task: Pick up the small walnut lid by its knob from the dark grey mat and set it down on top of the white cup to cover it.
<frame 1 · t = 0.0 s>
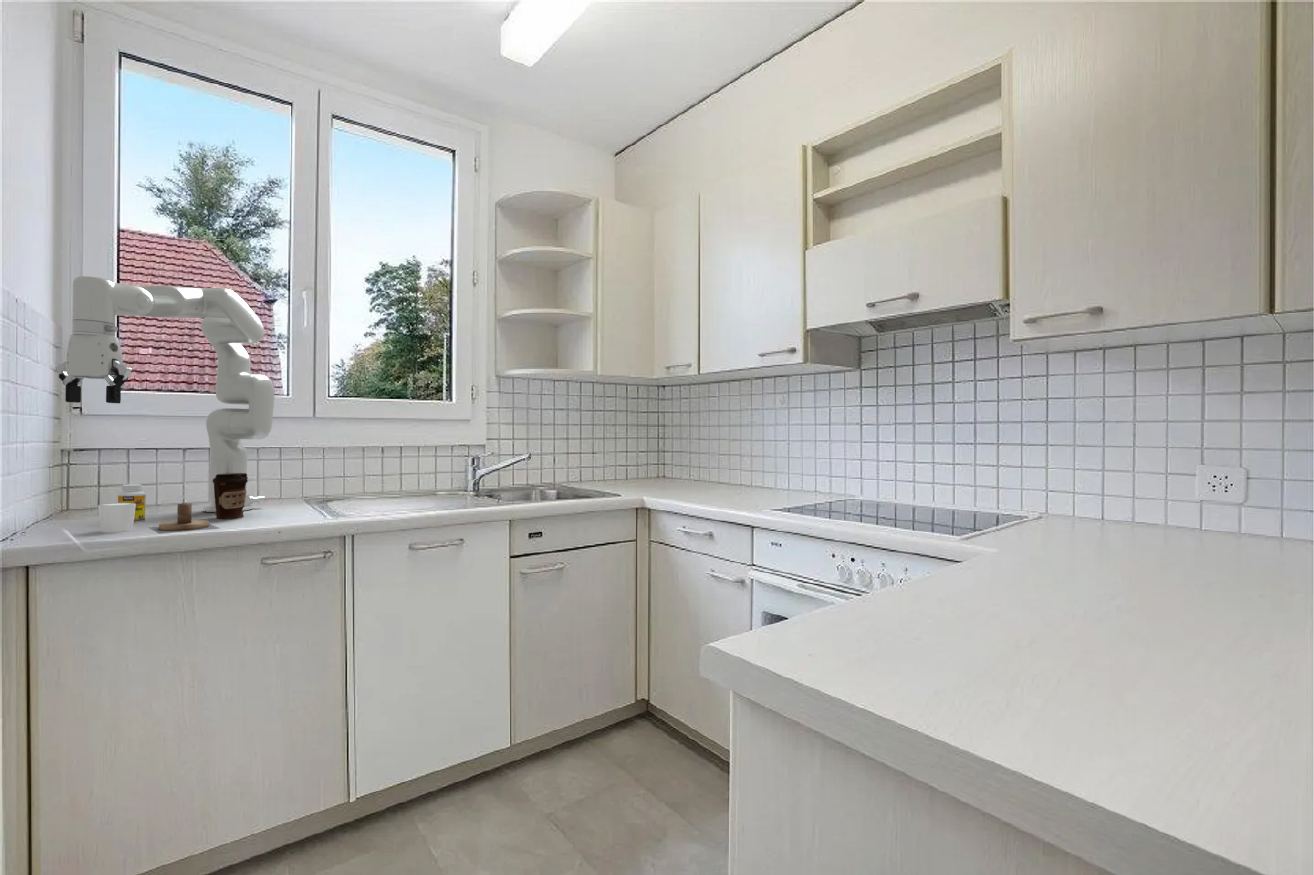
hand: (93, 402, 145), 31 cm above the counter, tool pointing down, fingers open, 9 cm apart
supplement bottle: (131, 523, 163), on the counter
white cup: (116, 533, 148), on the counter
mat: (184, 530, 153), on the counter
coffee cup: (230, 520, 172), on the counter
lid: (184, 527, 153), point 1 cm above the counter, touching mat
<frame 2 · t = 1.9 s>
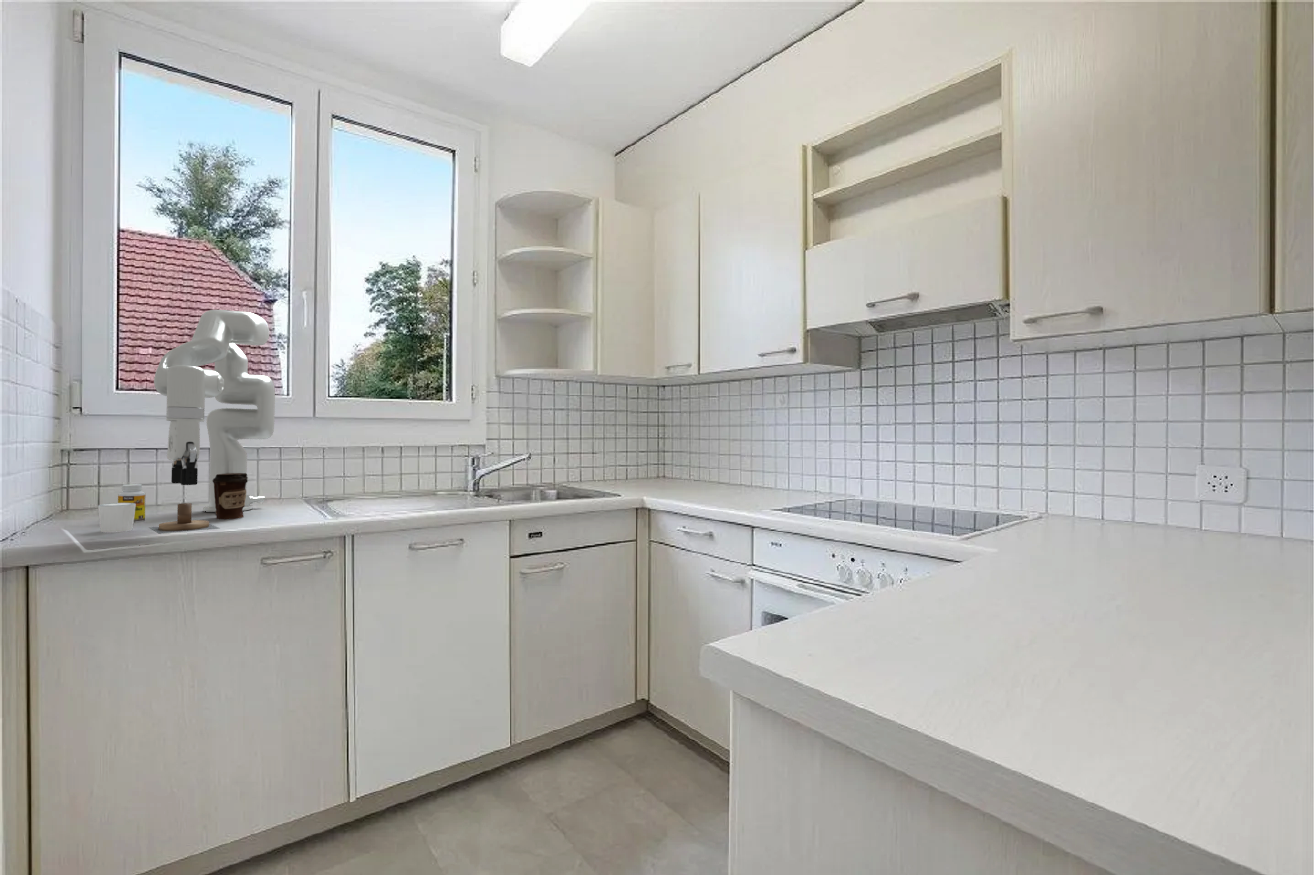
hand: (184, 483, 153), 12 cm above the counter, tool pointing down, fingers open, 9 cm apart
nothing on the counter moved.
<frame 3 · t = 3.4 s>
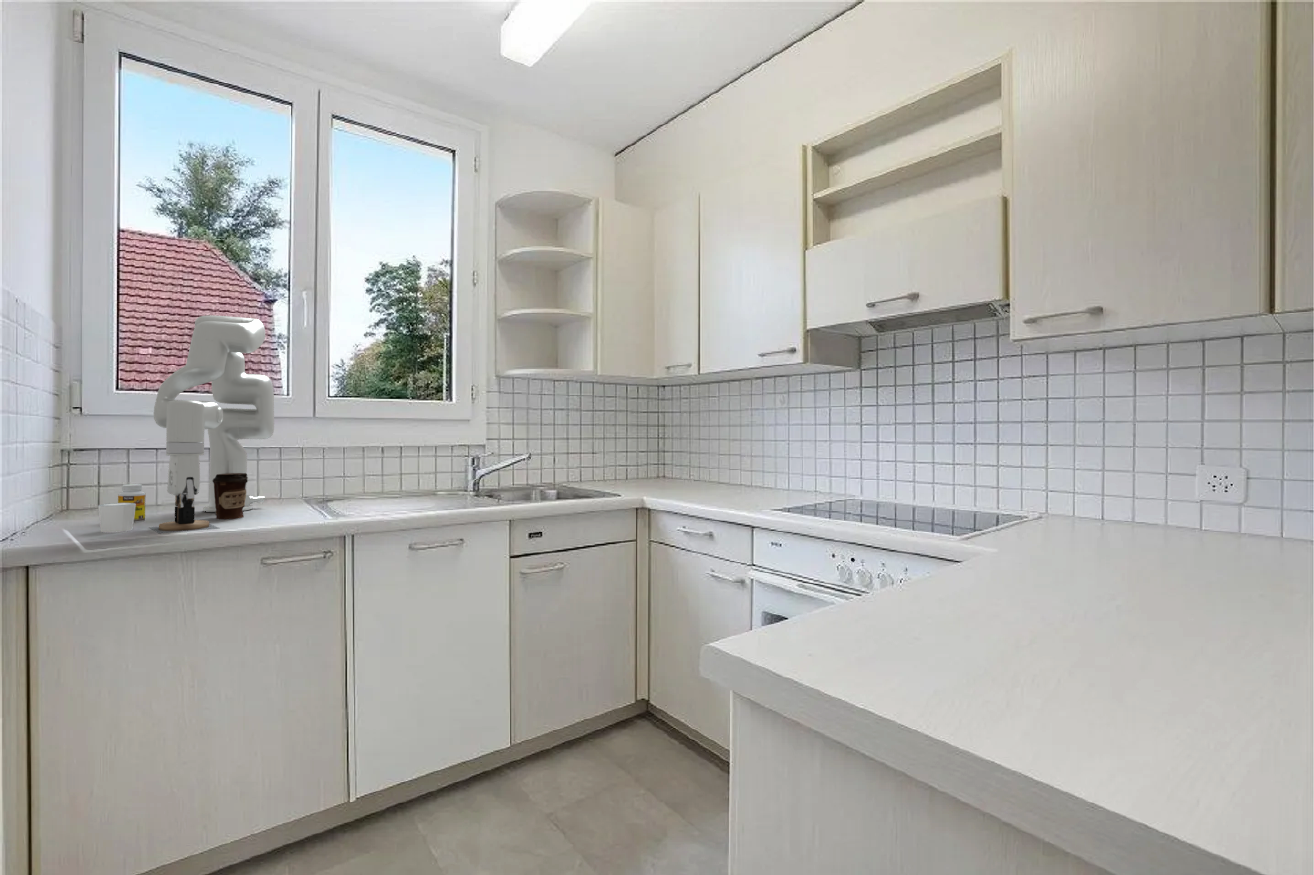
hand: (184, 522, 153), 2 cm above the counter, tool pointing down, fingers closed on lid, 2 cm apart
lid: (184, 527, 153), point 1 cm above the counter, touching gripper, mat
everything else where it was.
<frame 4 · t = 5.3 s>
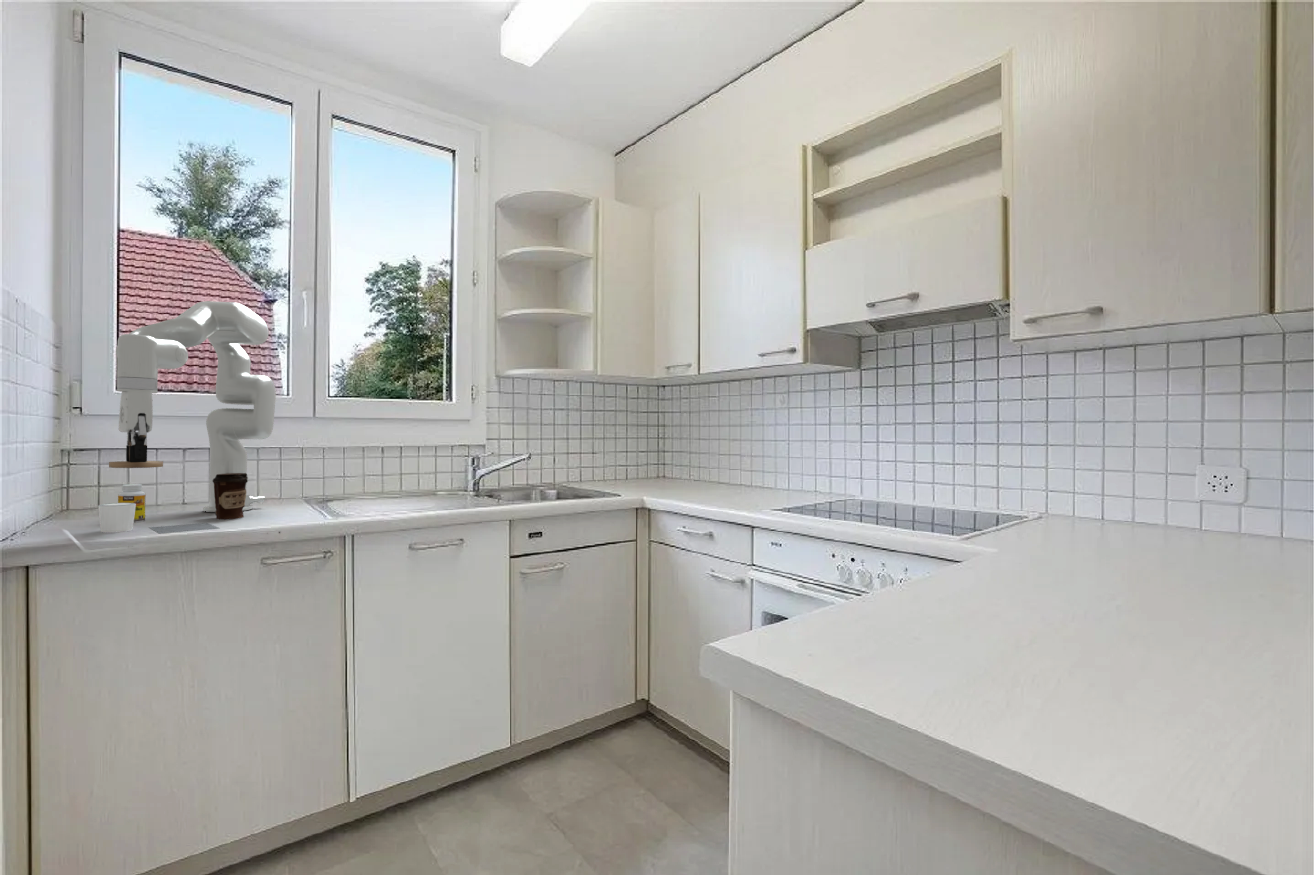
hand: (136, 461, 149), 17 cm above the counter, tool pointing down, fingers closed on lid, 2 cm apart
lid: (136, 466, 149), point 16 cm above the counter, touching gripper
everything else where it was.
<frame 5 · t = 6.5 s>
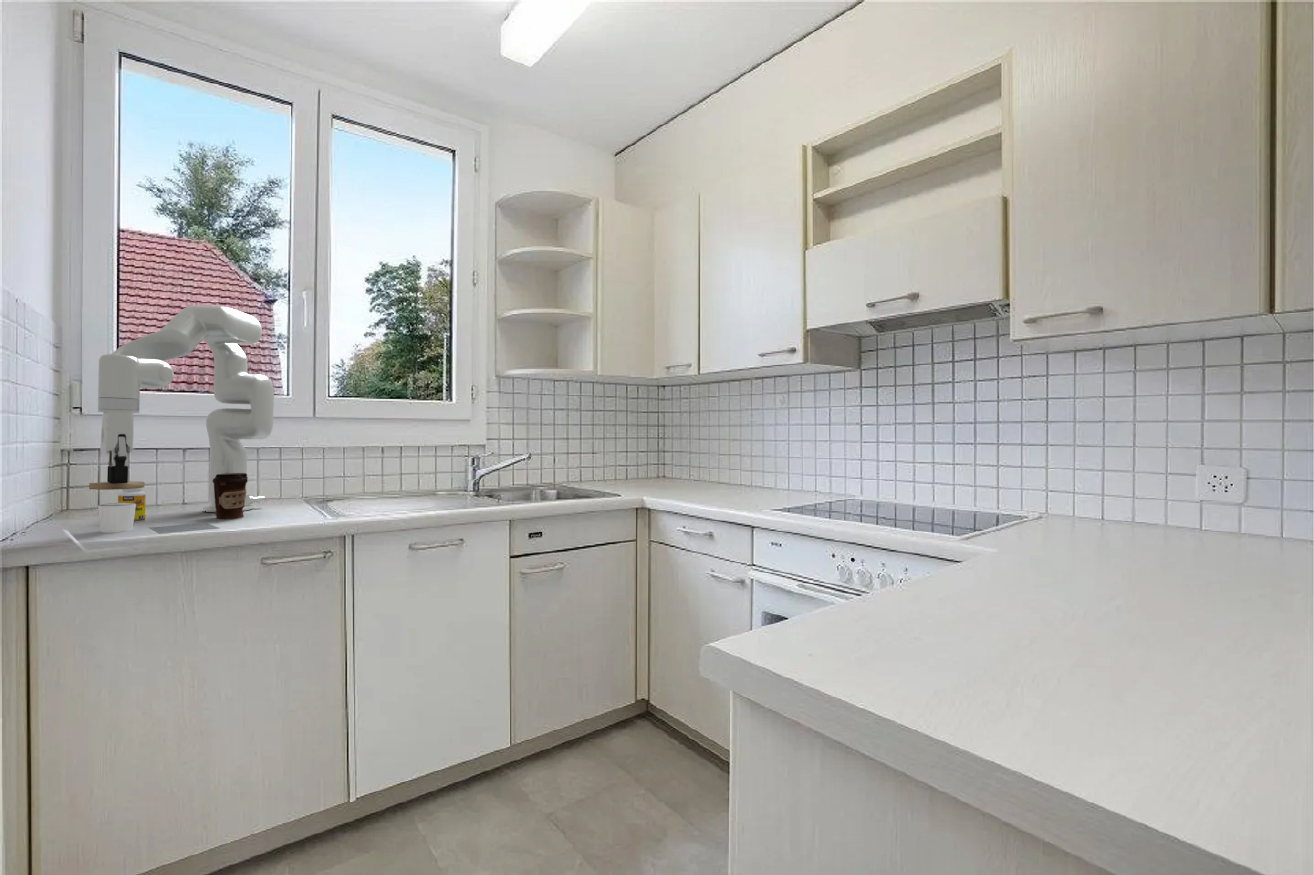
hand: (117, 482, 147), 12 cm above the counter, tool pointing down, fingers closed on lid, 2 cm apart
lid: (117, 487, 147), point 11 cm above the counter, touching gripper
everything else where it was.
when the fingers open (10 cm above the counter, at t = 7.2 s): lid drops 1 cm, resting on white cup.
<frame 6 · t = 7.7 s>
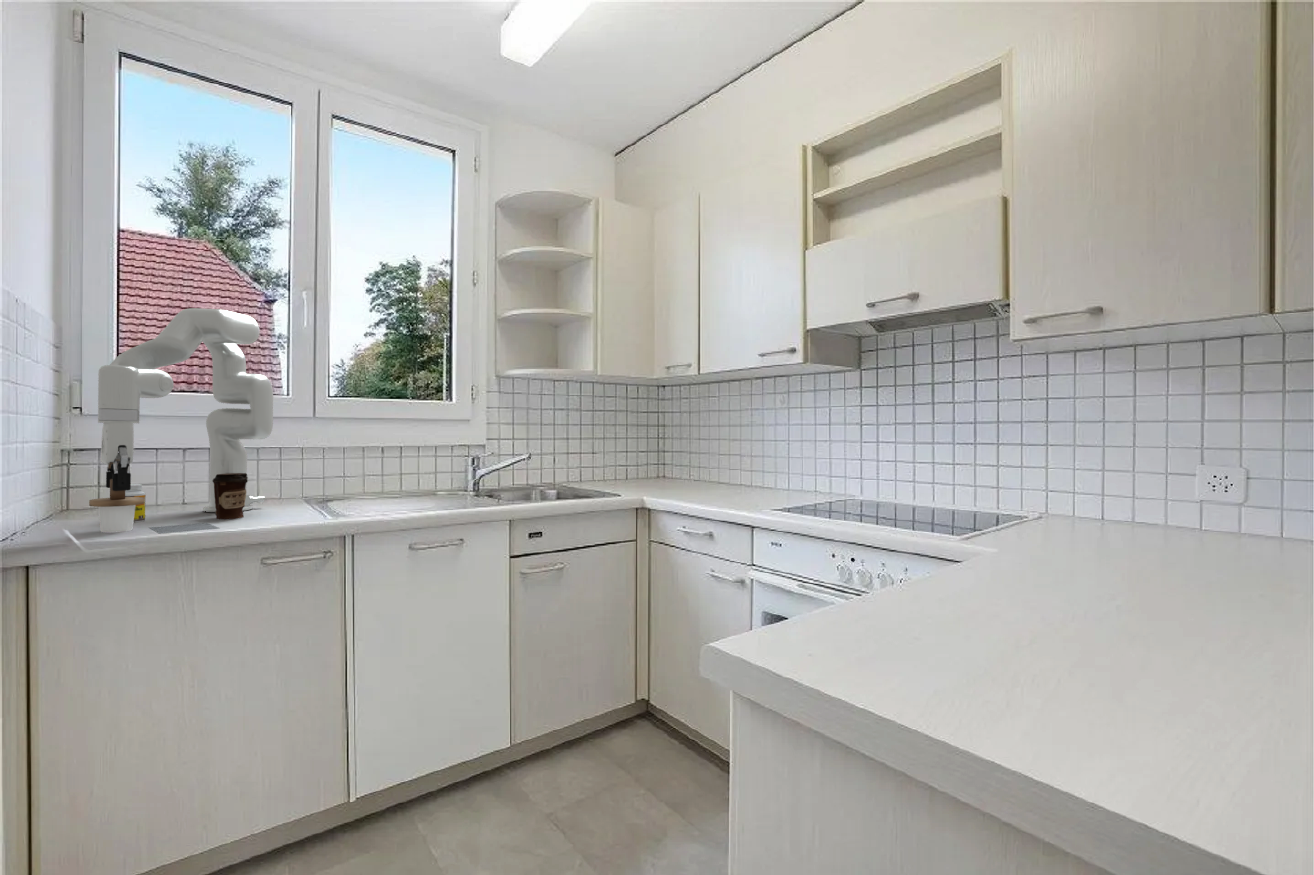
hand: (118, 488, 148), 11 cm above the counter, tool pointing down, fingers open, 8 cm apart
white cup: (116, 533, 148), on the counter, touching lid
lid: (117, 504, 148), point 7 cm above the counter, touching white cup
everything else where it was.
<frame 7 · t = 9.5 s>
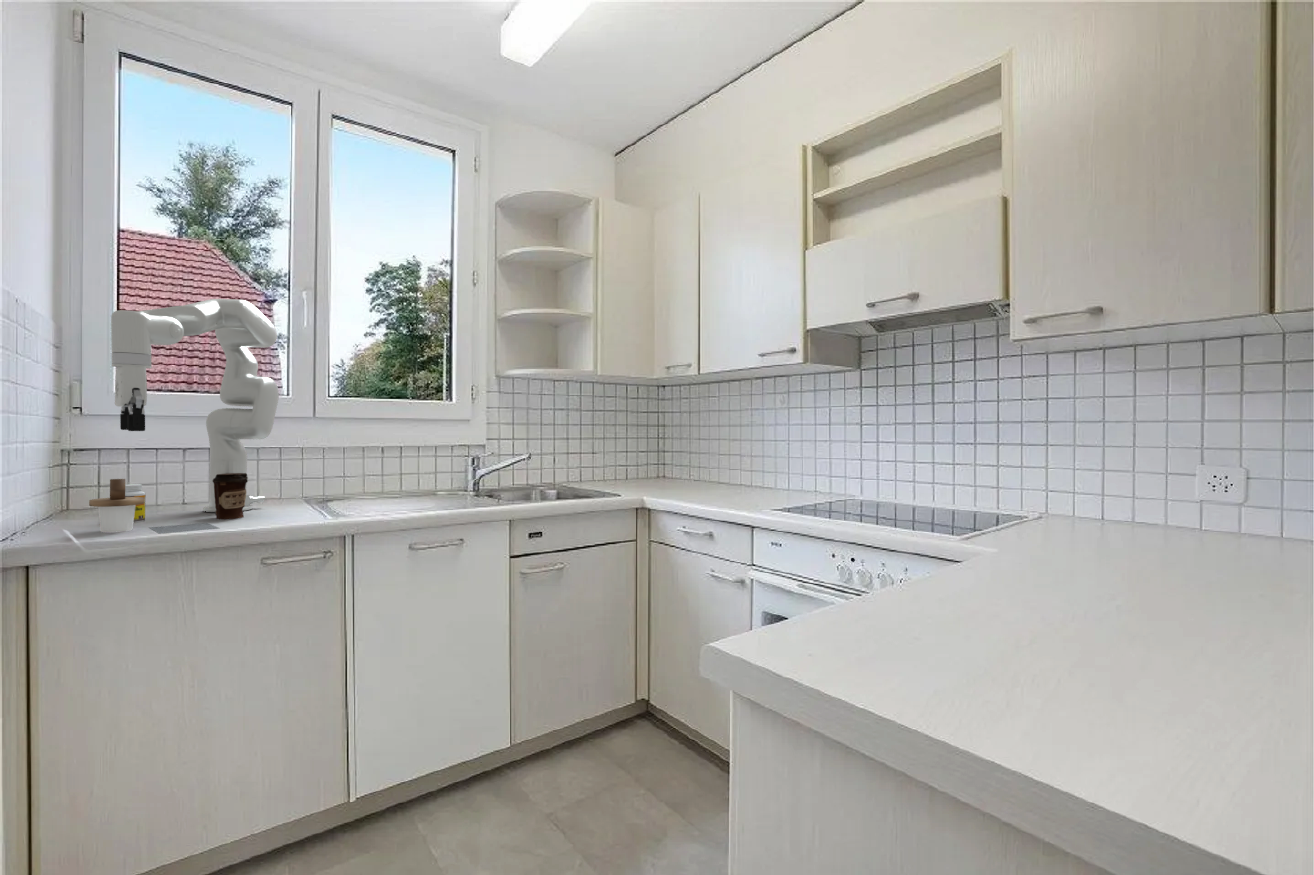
hand: (132, 430, 153), 25 cm above the counter, tool pointing down, fingers open, 9 cm apart
nothing on the counter moved.
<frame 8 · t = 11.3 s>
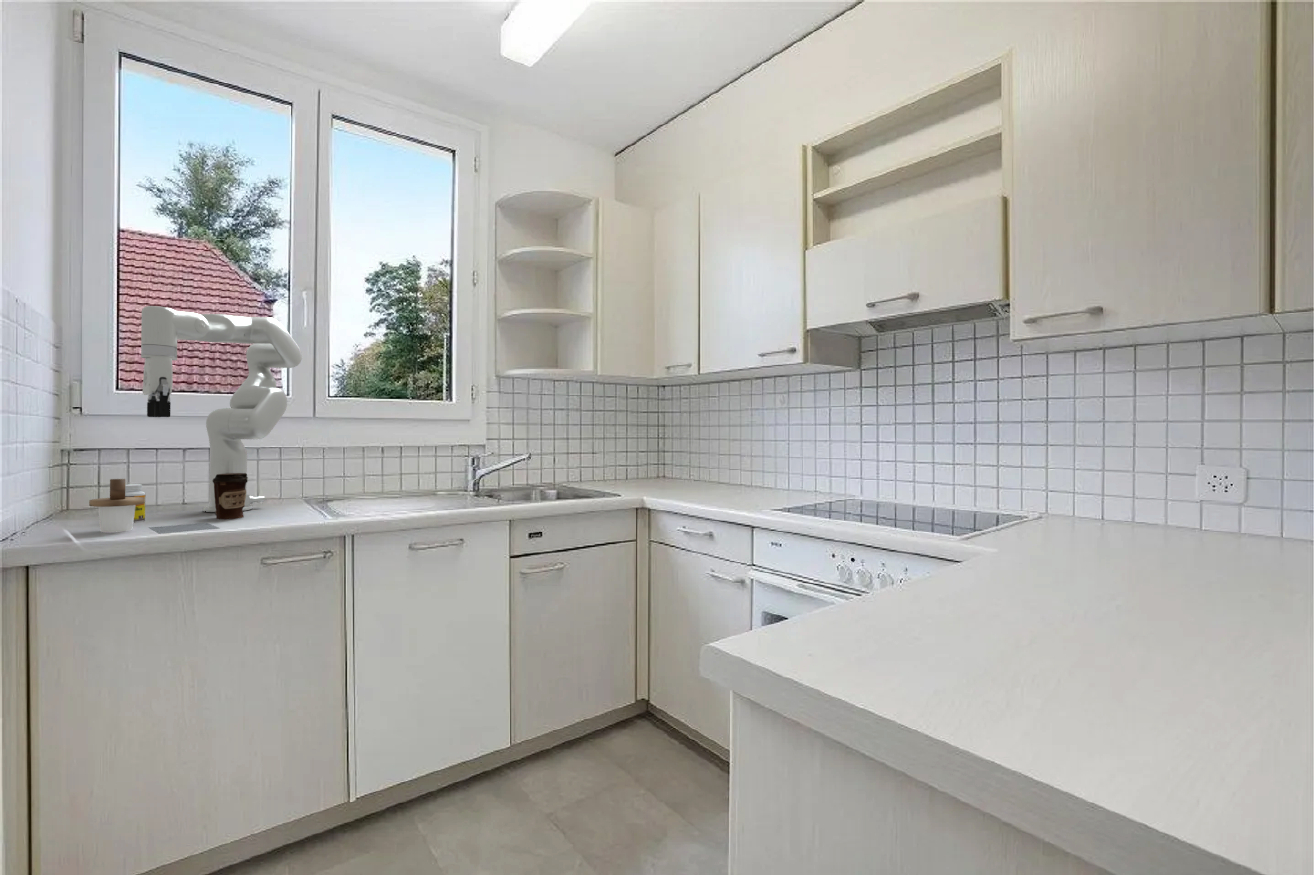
hand: (158, 417, 165), 28 cm above the counter, tool pointing down, fingers open, 9 cm apart
nothing on the counter moved.
at the end: lid 0.2 cm off-centre on the white cup, point 7.2 cm above the white cup's base; lid tilted 0°; the gripper is holding nothing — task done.
